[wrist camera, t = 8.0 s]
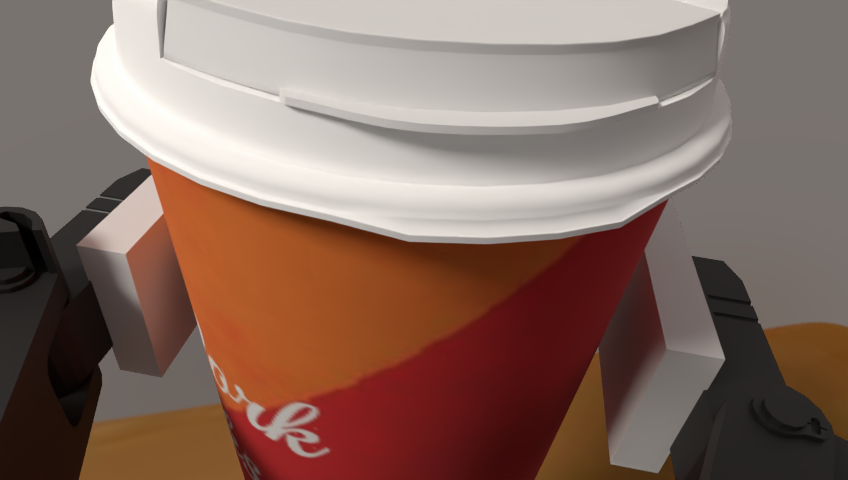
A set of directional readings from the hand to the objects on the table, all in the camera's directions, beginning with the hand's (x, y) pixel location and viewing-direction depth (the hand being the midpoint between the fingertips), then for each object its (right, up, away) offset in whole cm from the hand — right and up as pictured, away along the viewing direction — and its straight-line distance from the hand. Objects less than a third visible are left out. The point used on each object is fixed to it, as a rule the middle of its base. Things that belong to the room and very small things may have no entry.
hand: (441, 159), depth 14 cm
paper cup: (-1, -10, +1) cm, 10 cm away
